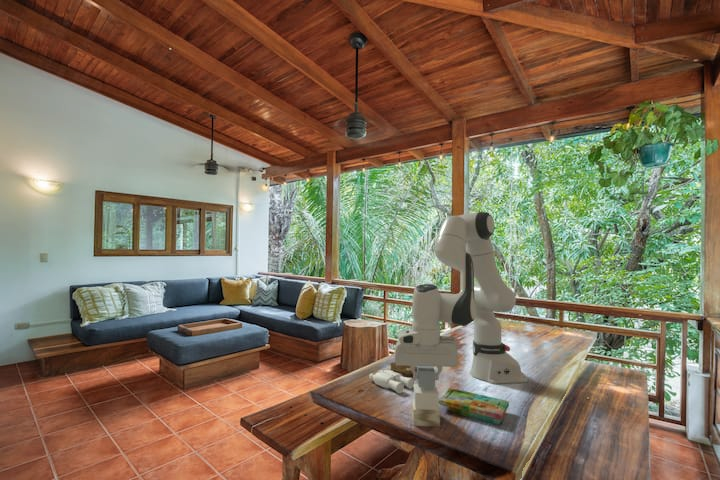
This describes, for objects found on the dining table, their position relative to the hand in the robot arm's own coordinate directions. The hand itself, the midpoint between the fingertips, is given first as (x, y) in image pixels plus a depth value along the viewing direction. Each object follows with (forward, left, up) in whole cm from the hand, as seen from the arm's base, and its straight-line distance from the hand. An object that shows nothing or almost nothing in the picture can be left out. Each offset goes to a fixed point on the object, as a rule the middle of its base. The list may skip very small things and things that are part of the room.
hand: (425, 379), depth 111 cm
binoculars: (+11, -26, -13) cm, 31 cm away
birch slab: (0, 0, -13) cm, 13 cm away
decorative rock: (+5, -40, -13) cm, 42 cm away
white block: (0, 0, -8) cm, 8 cm away
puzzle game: (-17, -7, -13) cm, 22 cm away
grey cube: (0, 0, -2) cm, 2 cm away
